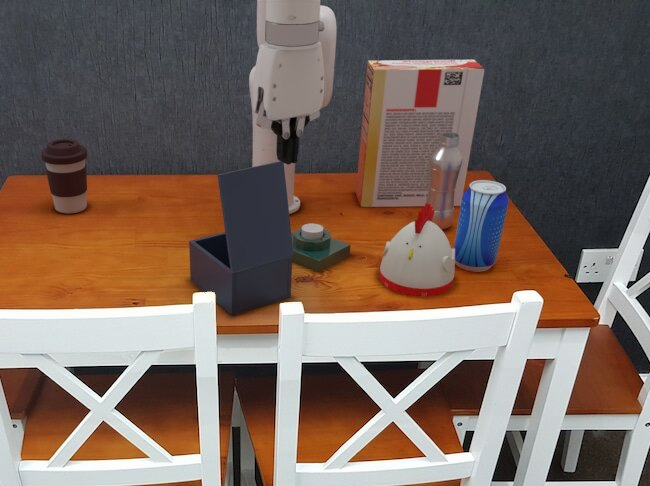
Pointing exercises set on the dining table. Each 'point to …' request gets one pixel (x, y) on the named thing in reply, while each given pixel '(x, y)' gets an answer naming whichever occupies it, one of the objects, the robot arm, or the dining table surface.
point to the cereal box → (413, 126)
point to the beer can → (480, 225)
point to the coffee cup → (66, 174)
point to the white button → (312, 231)
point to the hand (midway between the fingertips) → (287, 161)
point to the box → (237, 276)
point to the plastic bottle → (444, 179)
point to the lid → (256, 215)
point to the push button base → (318, 250)
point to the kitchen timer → (419, 259)
